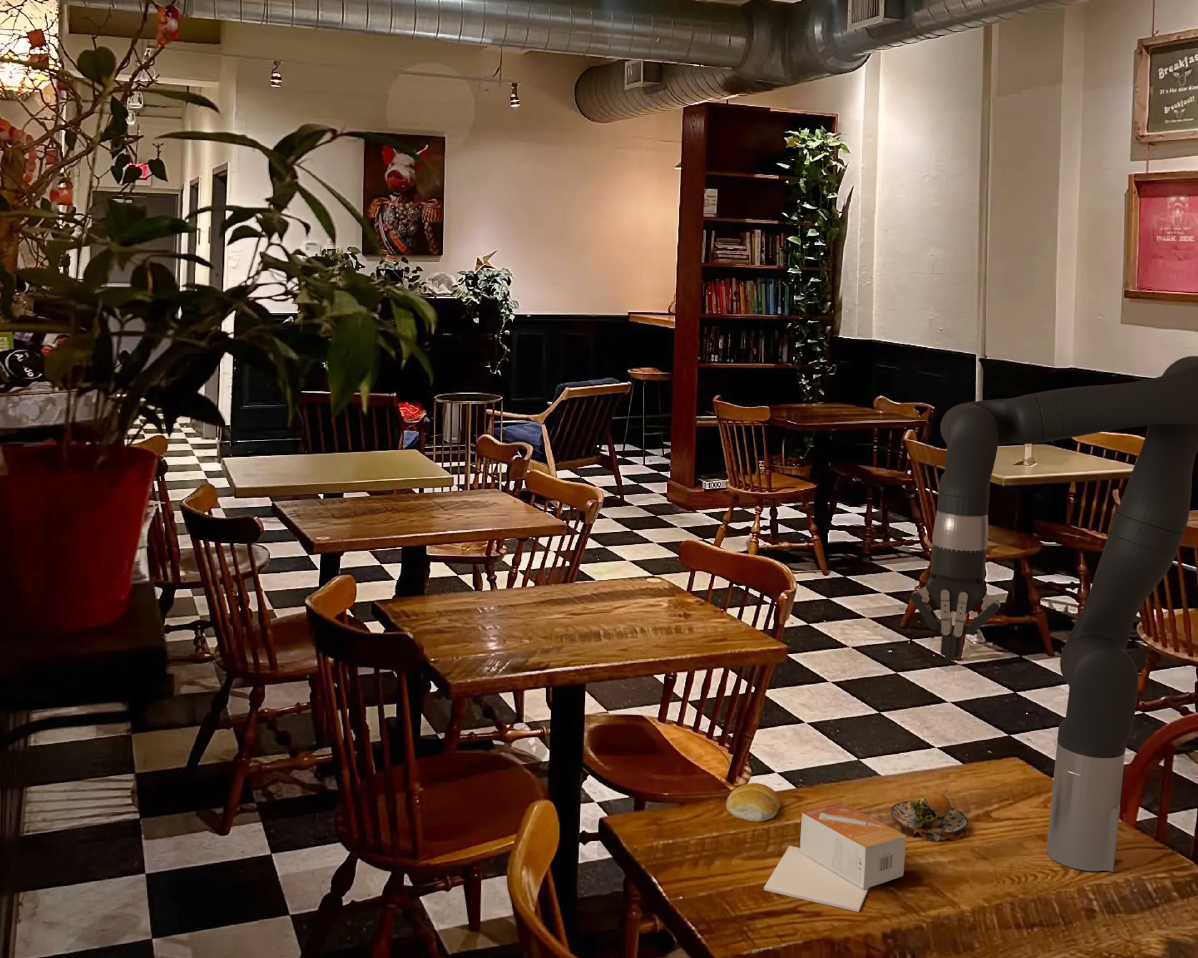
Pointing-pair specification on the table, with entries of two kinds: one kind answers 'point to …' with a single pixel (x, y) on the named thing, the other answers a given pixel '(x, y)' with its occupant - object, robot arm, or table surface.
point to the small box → (852, 844)
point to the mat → (813, 882)
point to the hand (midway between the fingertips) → (950, 658)
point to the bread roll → (753, 802)
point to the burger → (930, 818)
